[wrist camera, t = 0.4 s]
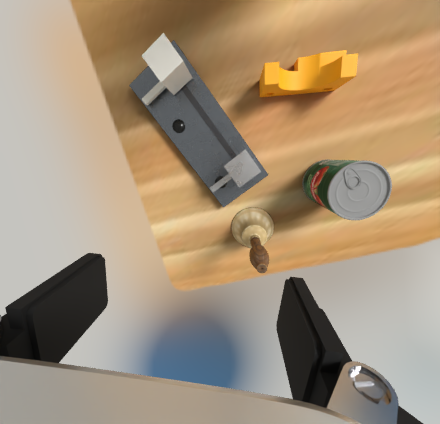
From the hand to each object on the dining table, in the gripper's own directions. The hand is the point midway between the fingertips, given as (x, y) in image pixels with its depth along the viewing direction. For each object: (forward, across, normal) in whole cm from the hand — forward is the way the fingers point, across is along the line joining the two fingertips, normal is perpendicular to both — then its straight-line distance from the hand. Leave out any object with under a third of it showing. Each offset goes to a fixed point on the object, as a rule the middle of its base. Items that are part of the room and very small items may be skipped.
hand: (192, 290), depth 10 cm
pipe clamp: (+30, -10, -20) cm, 37 cm away
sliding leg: (+28, +11, -17) cm, 34 cm away
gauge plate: (+30, +5, -10) cm, 32 cm away
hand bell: (+30, -6, +7) cm, 31 cm away
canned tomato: (+30, -18, -4) cm, 35 cm away
